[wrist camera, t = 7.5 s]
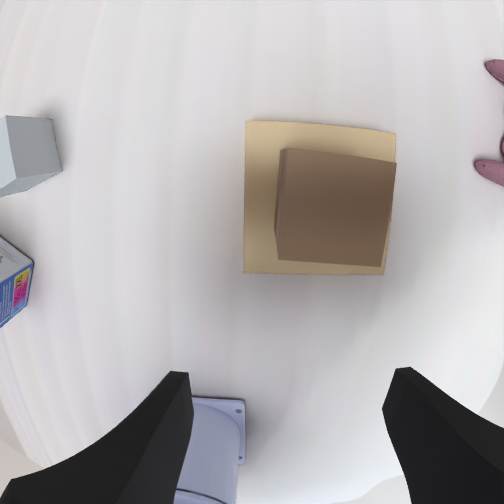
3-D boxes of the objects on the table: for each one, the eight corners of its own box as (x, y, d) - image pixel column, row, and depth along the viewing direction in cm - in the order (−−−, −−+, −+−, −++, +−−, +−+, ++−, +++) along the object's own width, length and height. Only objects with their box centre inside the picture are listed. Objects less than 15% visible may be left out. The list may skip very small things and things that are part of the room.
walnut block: (348, 233, 16) (380, 267, 11) (273, 227, 16) (278, 259, 11) (357, 159, 15) (396, 162, 10) (280, 150, 15) (288, 147, 10)
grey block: (62, 171, 18) (16, 178, 13) (26, 190, 18) (-19, 202, 13) (51, 119, 17) (5, 115, 12) (16, 142, 17) (-30, 144, 12)
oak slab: (366, 258, 20) (383, 274, 17) (245, 256, 20) (243, 273, 17) (376, 136, 17) (395, 133, 14) (247, 126, 17) (245, 120, 14)
